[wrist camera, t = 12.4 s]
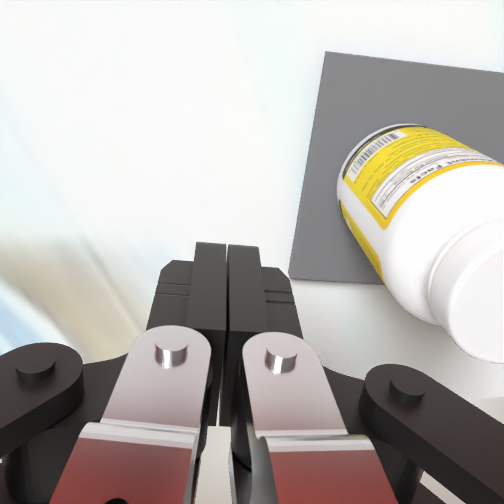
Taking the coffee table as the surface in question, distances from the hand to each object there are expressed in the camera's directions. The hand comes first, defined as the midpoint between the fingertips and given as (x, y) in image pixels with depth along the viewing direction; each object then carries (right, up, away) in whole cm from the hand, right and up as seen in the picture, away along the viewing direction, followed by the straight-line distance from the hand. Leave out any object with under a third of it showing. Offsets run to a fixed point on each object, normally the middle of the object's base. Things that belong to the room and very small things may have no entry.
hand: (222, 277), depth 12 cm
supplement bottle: (+7, +4, +9) cm, 12 cm away
